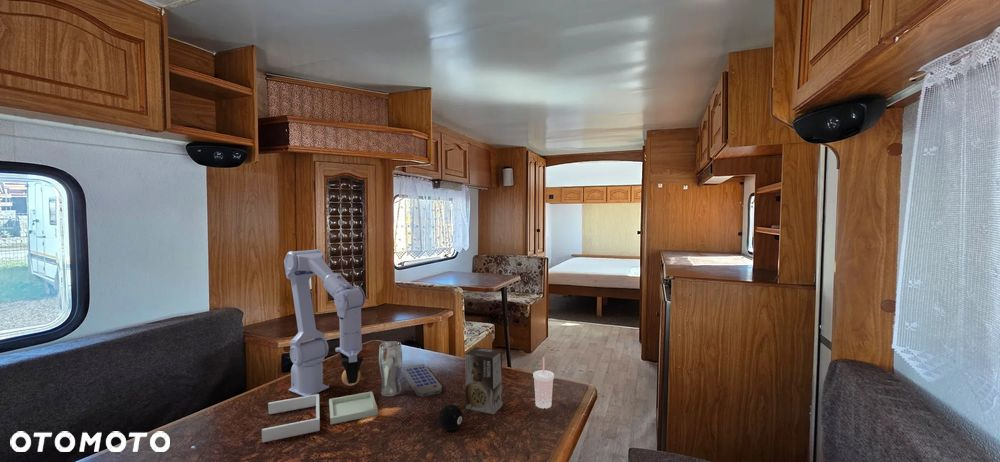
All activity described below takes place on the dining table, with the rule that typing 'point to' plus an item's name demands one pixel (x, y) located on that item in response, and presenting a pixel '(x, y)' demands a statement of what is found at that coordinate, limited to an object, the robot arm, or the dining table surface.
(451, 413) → the billiard ball
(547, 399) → the beverage cup
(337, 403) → the tray
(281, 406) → the white bent bar
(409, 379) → the remote control
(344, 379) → the ball
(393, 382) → the beer glass
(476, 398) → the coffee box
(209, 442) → the dining table surface
